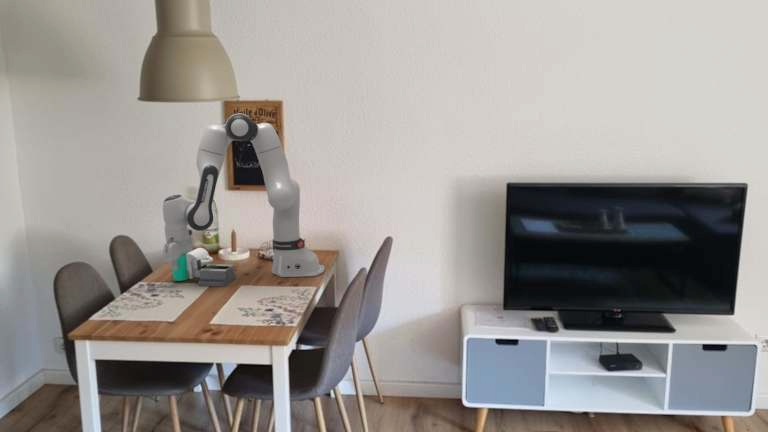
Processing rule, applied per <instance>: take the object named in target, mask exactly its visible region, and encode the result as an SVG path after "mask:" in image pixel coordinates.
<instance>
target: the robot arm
mask: <svg viewBox="0 0 768 432" xmlns="http://www.w3.org/2000/svg"><path fill="white" fill-rule="evenodd" d="M233 141H237V142H243V141H244V142H245V141H247V142H248V141H250V142H251V144H252V146H253V149H254V151H255V154H256V156H257V160H258V163H259V166H260V168H261V171H262V176H263V181H264V185H265V191H266V195H267V200H268V203H269V205H270V207H272V209H273V212H272V213H273V216H272V231H273V233H272V234H273V239H272V251H273V261H272V268H271V273H272V274H274V275H276V276H278V277H280V278H296V277H297V278H299V277H301V278H302V277H303V278H304V277H316V276H319V275H321V274H323V272H324V271H325V269H326V268H325V266H324V265H323V264H320V260H319V256H318V255H317V254H316V253H315V252H313V251H312V250H311V249H309V248H308V247H306V246H305V244H306V243H305V242H306V239H305V238H304V239H303V238H302V237H300V207H301V205H300V203H301V202H300V201H301V199H300V198H301V196H300V195H301V193H300V191H301V190H300V185H299V183H298V182H297V181H296V180H294V179H293V178H291V174H290V169H289V162H288V159H287V157H286V153H285V150H284V148H283V145H282V142H281V140H280V138H279V135H278V133H277V131H276V130H275V127H274V126H273V125H272V124H271V123H268V122H261V123H256V122H255V121H253V120H252V118H250V117H249V116H248V115H247V114H245V113H234V114H232V115H230V117H228V119H227V120H226V122H224V123H223V124H222V125H220V124H210V125H208V126H207V127H206V128H205V130H204V132H203V134H202V137H201V139H200V143H199V146H198V149H197V154H196V155H197V156H196V167H197V170H198V173H199V186H198V192H197V195H196V199H195V200H193V199H190V198H187V197H185V196H183V195H182V194H173V195H170V196H168V197H166V198H165V199H164V200H163V203H162V215H163V216H162V217H163V221H164V235H165V240H166V241H165V244H164V245H163V249H162V251H163V253H162V254H163V262H164V263H165V264H171V266H172V265H173V267H174V270H178V269H179V265H178V264H177V262H178V259H180V256H183V255H184V254H185V253H186V257H187V253H189V252H191V251H193V250H194V249H193V248H194V246H193V245H194V242H193V236H192V235H193V230H194V231H197V232H199V231H201V232H202V231H205V230H208V229H209V228H210V227H211V226H212V224H213V222H214V214H213V213H214V212H213V201H214V196H215V193H216V187H217V184H218V183H217V182H218V179H219V176H220V173H221V170H222V168H223V165H224V162H225V159H226V154H227V151H228V148H229V145H230V143H231V142H233ZM188 225H189V227H190V228H188Z"/></svg>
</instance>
